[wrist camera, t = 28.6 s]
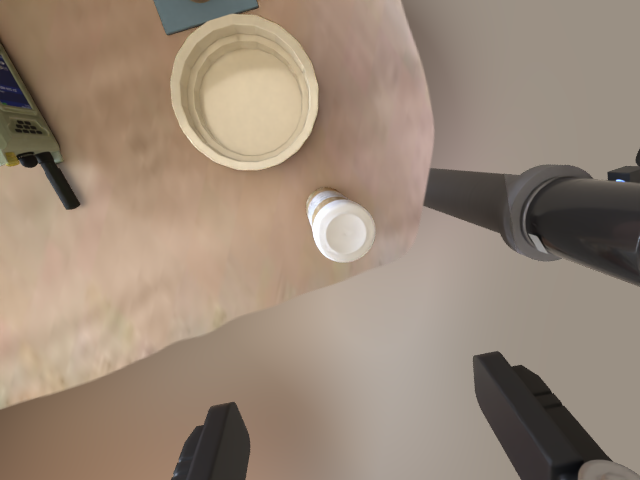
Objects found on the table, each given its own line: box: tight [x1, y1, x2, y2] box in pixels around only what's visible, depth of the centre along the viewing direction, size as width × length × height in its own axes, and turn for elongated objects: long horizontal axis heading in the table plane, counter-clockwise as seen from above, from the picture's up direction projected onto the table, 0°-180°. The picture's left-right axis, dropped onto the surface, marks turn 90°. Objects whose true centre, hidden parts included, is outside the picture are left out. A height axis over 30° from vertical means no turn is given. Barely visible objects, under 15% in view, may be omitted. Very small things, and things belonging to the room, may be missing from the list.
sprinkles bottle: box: [306, 187, 376, 263], centre depth 31 cm, size 5×5×13 cm
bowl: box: [170, 14, 319, 171], centre depth 31 cm, size 13×13×5 cm
